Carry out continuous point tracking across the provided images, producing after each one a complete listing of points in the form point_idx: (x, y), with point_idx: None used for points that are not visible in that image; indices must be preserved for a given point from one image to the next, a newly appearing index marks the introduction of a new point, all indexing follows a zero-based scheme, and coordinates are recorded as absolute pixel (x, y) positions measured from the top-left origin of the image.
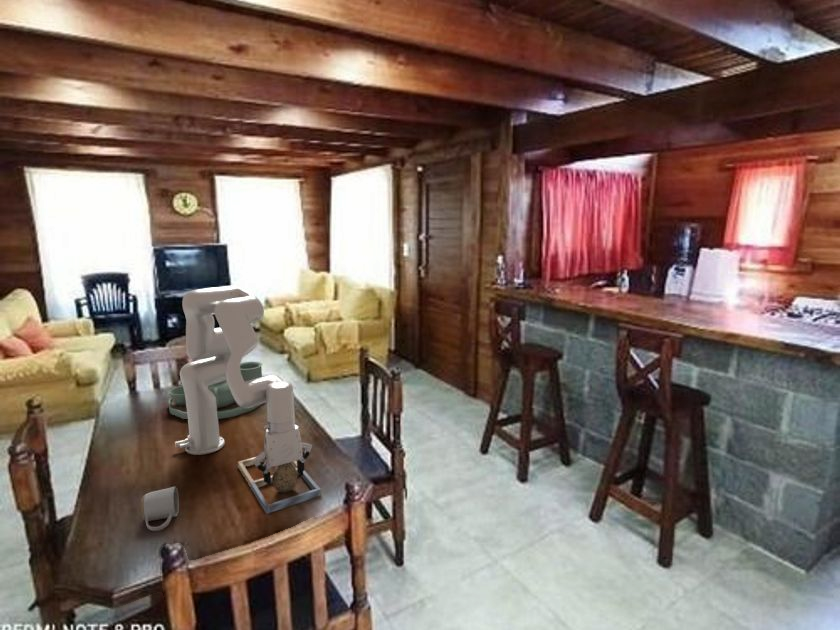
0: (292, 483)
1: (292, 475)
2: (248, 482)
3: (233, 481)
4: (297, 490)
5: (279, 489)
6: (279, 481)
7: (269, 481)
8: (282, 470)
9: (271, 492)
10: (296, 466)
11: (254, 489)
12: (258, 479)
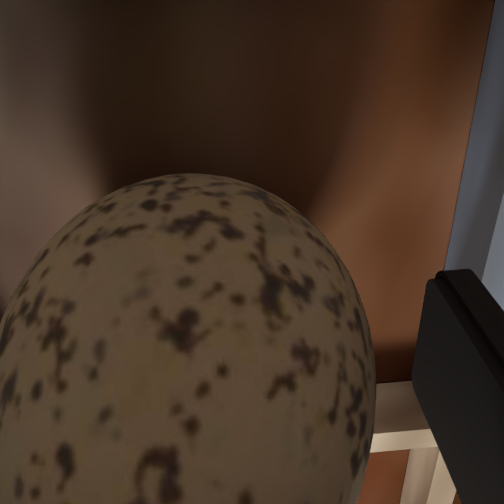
0: (105, 204)
1: (57, 304)
2: None
3: None
4: (78, 204)
5: (297, 210)
6: (316, 272)
7: (487, 312)
8: (252, 462)
9: None
10: None
11: None
12: (398, 449)
